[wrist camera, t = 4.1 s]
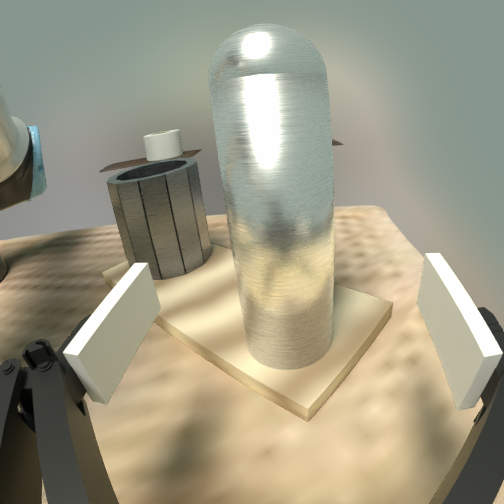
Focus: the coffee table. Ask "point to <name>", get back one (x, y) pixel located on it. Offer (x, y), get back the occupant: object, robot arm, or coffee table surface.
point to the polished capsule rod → (277, 189)
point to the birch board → (233, 335)
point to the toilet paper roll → (163, 145)
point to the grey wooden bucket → (162, 216)
